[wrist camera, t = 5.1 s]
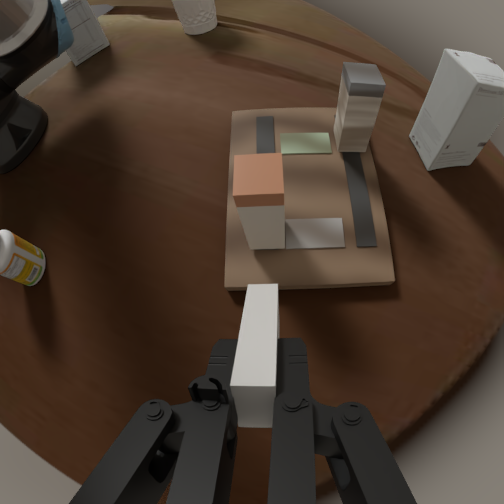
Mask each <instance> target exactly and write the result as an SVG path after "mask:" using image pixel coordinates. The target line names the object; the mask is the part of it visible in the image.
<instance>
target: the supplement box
mask: <svg viewBox="0 0 504 504" xmlns="http://www.w3.org/2000/svg"><path fill="white" fill-rule="evenodd" d="M60 1H61V4H62V6H63V9H64V12H65V15H66V17H67V20H68V22H69V25H70V27H71V30H72V32H73V35H74V42H73V44H72V46H71V47H70V48H68V49H67V50H66V52H67V54H68V55H69V57H70V59H71V60H72V62H73V63H74V65H75V66H78V65H79V64H80V63H82V62H83V61H85V60H86V59H88V58H89V57H91V56H93V55H94V54H96V53H97V52H99V51H100V50H102V49H104V48H105V47H107V46H109V45H110V43H109V41H108V39H107V38H106V36H105V34H104V32H103V30H102V28H101V26H100V24H99V22H98V20H97V18H96V17H95V14H94V13H93V11H92V9H91V7H90V5H89V4H88V2H87V0H60Z"/></svg>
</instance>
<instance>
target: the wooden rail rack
mask: <svg viewBox="0 0 504 504" xmlns="http://www.w3.org/2000/svg"><path fill="white" fill-rule="evenodd" d="M385 86H386V85H385V83H384V80H383V78H382V76H381V74H380V72H379V70H378V68H377V66H376V65H374V64H363V63H350V62H343V69H342V77H341V84H340V91H339V98H338V105H337V108H275V109H256V110H242V111H232V125H231V142H230V160H229V180H228V202H227V226H226V254H225V288H226V290H227V291H242V290H247V287H248V284H278V290H286V289H316V288H339V287H360V286H378V285H390V284H392V283H393V282H394V281H395V277H394V269H393V261H392V254H391V247H390V240H389V234H388V228H387V222H386V217H385V211H384V206H383V201H382V196H381V191H380V187H379V182H378V178H377V173H376V169H375V165H374V161H373V157H372V153H371V149H370V145H369V140H370V136H371V133H372V130H373V127H374V124H375V120H376V117H377V114H378V110H379V107H380V104H381V100H382V97H383V93H384V90H385ZM263 153H282V165H283V182H284V213H285V248H284V249H253V250H250V248H249V244H248V241H247V238H246V235H245V232H244V229H243V226H242V223H241V220H240V217H239V214H238V211H237V207H236V204H235V201H234V198H233V174H234V155H246V154H263Z"/></svg>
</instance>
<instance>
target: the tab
mask: <svg viewBox="0 0 504 504" xmlns="http://www.w3.org/2000/svg"><path fill="white" fill-rule="evenodd" d="M233 198H234V201H235V204H236V207H237V211H238V214H239V217H240V220H241V223H242V226H243V229H244V232H245V235H246V238H247V241H248V244H249V248H250V250H253V249H284V248H285V213H284V182H283V165H282V153H263V154H246V155H234V174H233Z"/></svg>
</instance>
